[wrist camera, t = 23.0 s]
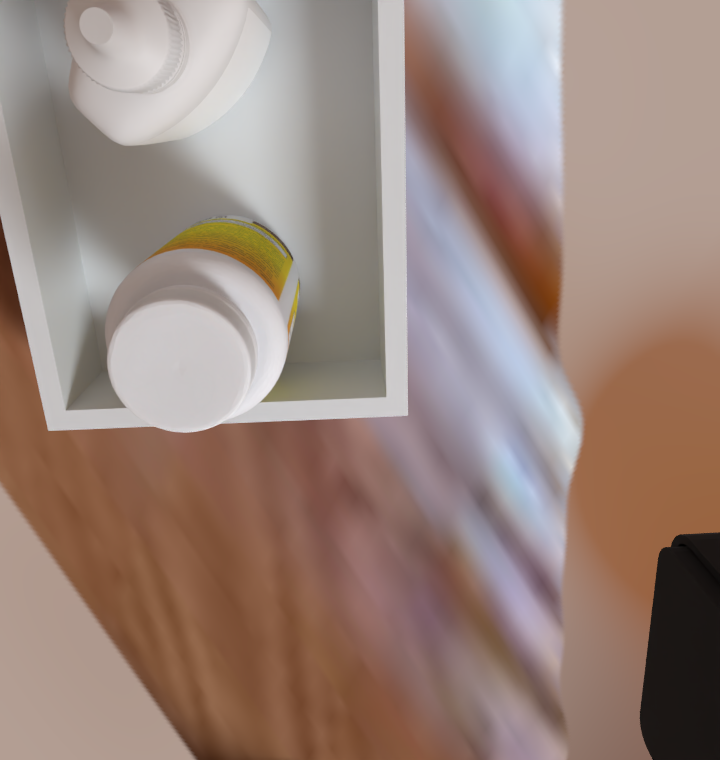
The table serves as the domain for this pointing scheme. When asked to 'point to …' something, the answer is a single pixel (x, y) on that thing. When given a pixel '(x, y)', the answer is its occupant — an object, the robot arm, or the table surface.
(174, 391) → the supplement bottle
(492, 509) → the table surface
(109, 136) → the eye dropper bottle
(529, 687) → the table surface
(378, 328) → the box
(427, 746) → the table surface
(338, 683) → the table surface
